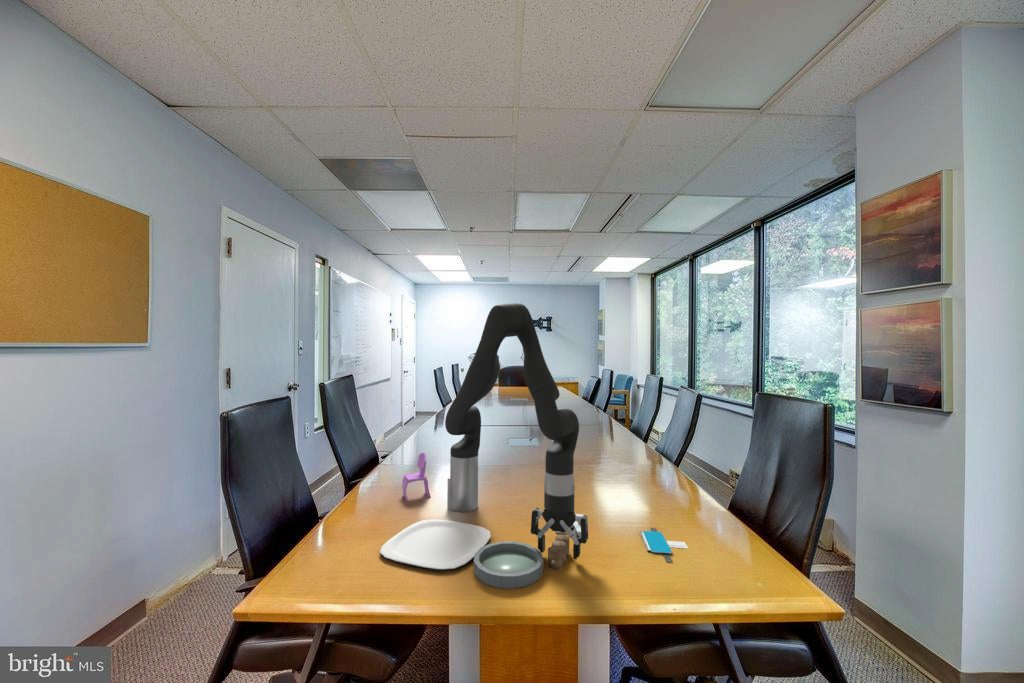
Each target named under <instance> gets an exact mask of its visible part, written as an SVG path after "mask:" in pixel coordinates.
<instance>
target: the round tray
mask: <svg viewBox="0 0 1024 683" xmlns="http://www.w3.org/2000/svg"><path fill="white" fill-rule="evenodd" d="M543 557H544V556H543V553H541V552H540V550H539V549H538V547H534V546H533V545H530V544H528V543H525V542H519V541H514V540H513V541H509V540H508V541H507V540H505V541H504V540H501V541H498V542H497V541H496V542H491V543H488V544H486V545H485V546H484V547H482V548H480V549H479V550H478V551H477V552H476V553H475V555H474V558H473V572H474V575H475V577H476V578H477V579H478V580H479V581H480V582H481V583H482V584H485V585H486V586H489V587H492V588H496V589H501V590H515V589H521V588H527V587H529V586H532V585H533V584H535V583H537V582H538V581H539V580H540V578H541V577H542V575H543V573H544V572H543V571H544V558H543Z"/></svg>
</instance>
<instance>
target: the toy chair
mask: <svg viewBox="0 0 1024 683" xmlns="http://www.w3.org/2000/svg"><path fill="white" fill-rule="evenodd" d="M416 466H417V468H418V469H419V472H415V473H407V474H405V473H404V474H403V478H402V486H401V487H402V495H403V497H404V499H405V501H406V502H409V499H408V495H407V487H408V484H410V483H414V482H418V481H420V482H421V481H423V485H424V491H425V494H426V495H427V496H428V497H429V498H432V496H431V493H430V489H429V481H428V478H427V476H426V475H425V473H426V468H427V467H426V466H427V453H426V452H421V453H419V455H418V458H417V464H416Z"/></svg>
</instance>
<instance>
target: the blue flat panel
mask: <svg viewBox="0 0 1024 683" xmlns="http://www.w3.org/2000/svg"><path fill="white" fill-rule="evenodd" d="M650 530H651V531H650ZM650 530H643V531H641V530H640V531H639V535H640V538H641V539H642V543H643V545H644V547H645V550H646V552H647V553H649V551H650V552H652V553H655V554H657V555H660V556H663V558H664V559H665V562H666V563H672V564H673V563H674V562H673V559H672V558H671V555H670V554H672V553H673V552H672V549H671V548H673V549H684V550H685V549H686V550H687V549H689V547H688V545H687V544H686V542H685V541H676V540H675V541H674V540H666V537H665V536H664V534H663V533H662V532H661V531H658V530H657V528H656V527H650Z"/></svg>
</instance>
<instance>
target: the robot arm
mask: <svg viewBox="0 0 1024 683" xmlns="http://www.w3.org/2000/svg"><path fill="white" fill-rule="evenodd" d="M533 320H534V319H533V318H532V315H531V313H530V311H529V308H527V306H526V305H525V304H522V303H517V302H516V303H515V302H514V303H512V302H511V303H498V304H495V305H494V306H492V307H491V309H490V311H489V312H488V314H487V318H486V320H485V323H484V327H483V330H482V334H481V337H480V340H479V343H478V346H477V348H476V351H475V353H474V356H473V358H472V360H471V363H470V364H469V367H468V369H467V371H466V374H465V376H464V379H463V382H462V384H461V386H460V388H459V390H458V393H457V394H456V396H455V397H454V400H453V401H452V403H451V404H450V407H449V408H448V410H447V413H446V415H445V420H444V427H445V430H446V432H447V433H448V434H449V435H452V436H463V438H462V439H460V440H459V441H458V442H456V443H455V444H453V445H451V447H450V452H449V453H450V454H449V455H450V456H449V457H450V458H449V459H450V460H449V461H450V466H449V468H450V470H449V472H450V476H449V477H448V478H447V497H446V498H447V499H446V500H447V501H446V502H447V504H446V505H447V509H450V510H452V511H453V512H457V513H469V512H471V511H472V512H473V511H474V510H476V509H478V508H479V449H480V446H481V434H482V433H481V430H482V416H481V415H482V414H481V411H480V409H479V408H478V407H477V406H475V405H476V404H477V403H479V401H481V400H483V398H485V397H486V396H487V395H488V394H489V393H491V391H492V390H493V389H494V387H495V385H496V382H497V381H498V379H499V377H500V373H501V364H500V359H499V356H498V352H499V349H500V346H501V345H502V342H503V341H504V340H505V339H506V338H511V337H517V339H518V340H519V342H520V344H521V346H522V350H523V368H522V370H523V378H524V382H525V384H526V387H527V389H528V392H529V394H530V396H531V397H532V399H533V402H534V410H535V414H536V419H537V424H538V427H539V430H540V431H541V433H542V434H543V435H544V436H545V437H546V438H547V439H548V440H551V441H553V443H552V445H551V446H550V447H549V448H547V450H546V451H545V472H544V474H545V475H544V480H543V481H544V485H543V487H544V494H543V496H544V497H543V498H544V500H543V501H544V502H543V505H544V506H543V510H542V509H540V508H539V507H535V508H534V509H533V510H532V511H531V518H530V519H531V521H530V522H531V523H530V533H531V534H532V535H534V536H535V535H536V536H537V549H538V550H539V551H540V552H541V553H542V554H544V553H545V550H546V533H547V532H548V531H549V529H550V530H551V531H552V532H555V531H559V532H562V533H561V534H563V533H564V532H566V533H567V534H566V535H567V536H568V537H569V538H570V539H571V540H572V542H573V546H572V547H573V552H572V554H573V556H572V557H573V558H572V559H573V560H577V559H578V558H579V557H580V555H581V547H582V546H581V544H586V543H587V542H588V540H589V526H588V525H589V524H588V523H589V522H588V516H587V515H586V514H583V516H576V515H575V514H576V513H575V490H576V487H575V476H574V462H575V460H574V455H575V450H576V447H577V443H578V439H579V434H580V433H579V432H580V422H579V418H578V415H577V414H576V413H575V411H573V410H572V409H569V408H561V409H560V408H559V409H558V406H557V402H556V401H557V400H558V399H559V398H560V394H561V393H560V391H559V388H558V386H557V384H556V382H555V380H554V377H553V375H552V373H551V371H550V369H549V367H548V365H547V363H546V362H547V361H546V359H545V356H544V354H543V350H542V347H541V343H540V340H539V338H538V334H537V333H538V332H537V330H536V326H535V324H534V321H533ZM541 517H542V518H543V519H544V521H545V524H544V525H543V527H542V528H540V527H539V522H540V521H539V520H540V518H541ZM575 521H577V522H578V525H579V526H581V535H579V534H578V532H577V530H576V528H575V526H574V525H573V524H574V522H575Z"/></svg>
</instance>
